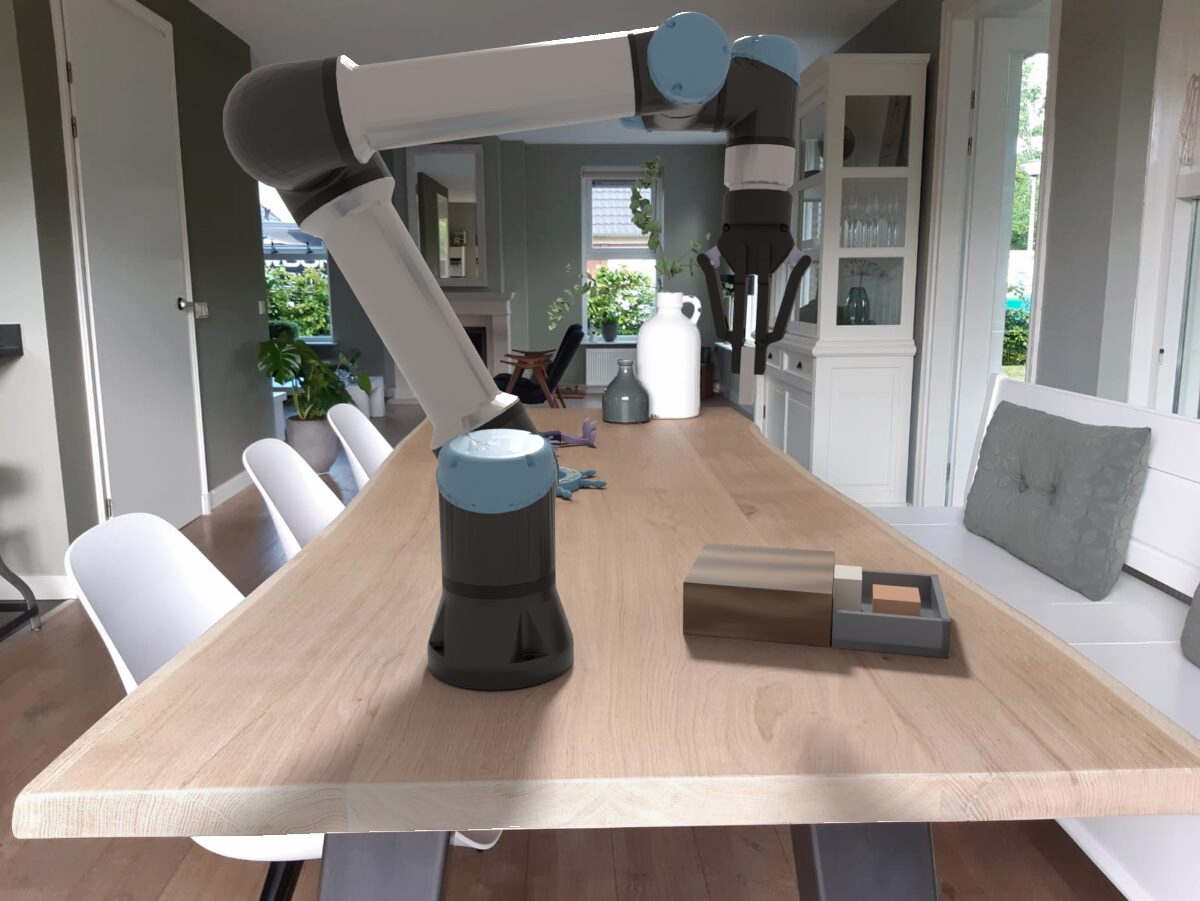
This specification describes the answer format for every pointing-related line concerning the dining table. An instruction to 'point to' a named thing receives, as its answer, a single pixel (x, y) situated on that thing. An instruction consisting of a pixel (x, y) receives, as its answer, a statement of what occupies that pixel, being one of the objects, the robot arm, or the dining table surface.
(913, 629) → the box
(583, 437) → the toy
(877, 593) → the orange square block
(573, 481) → the decorative ship wheel
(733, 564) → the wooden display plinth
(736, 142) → the robot arm
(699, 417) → the dining table surface
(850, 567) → the off-white block
